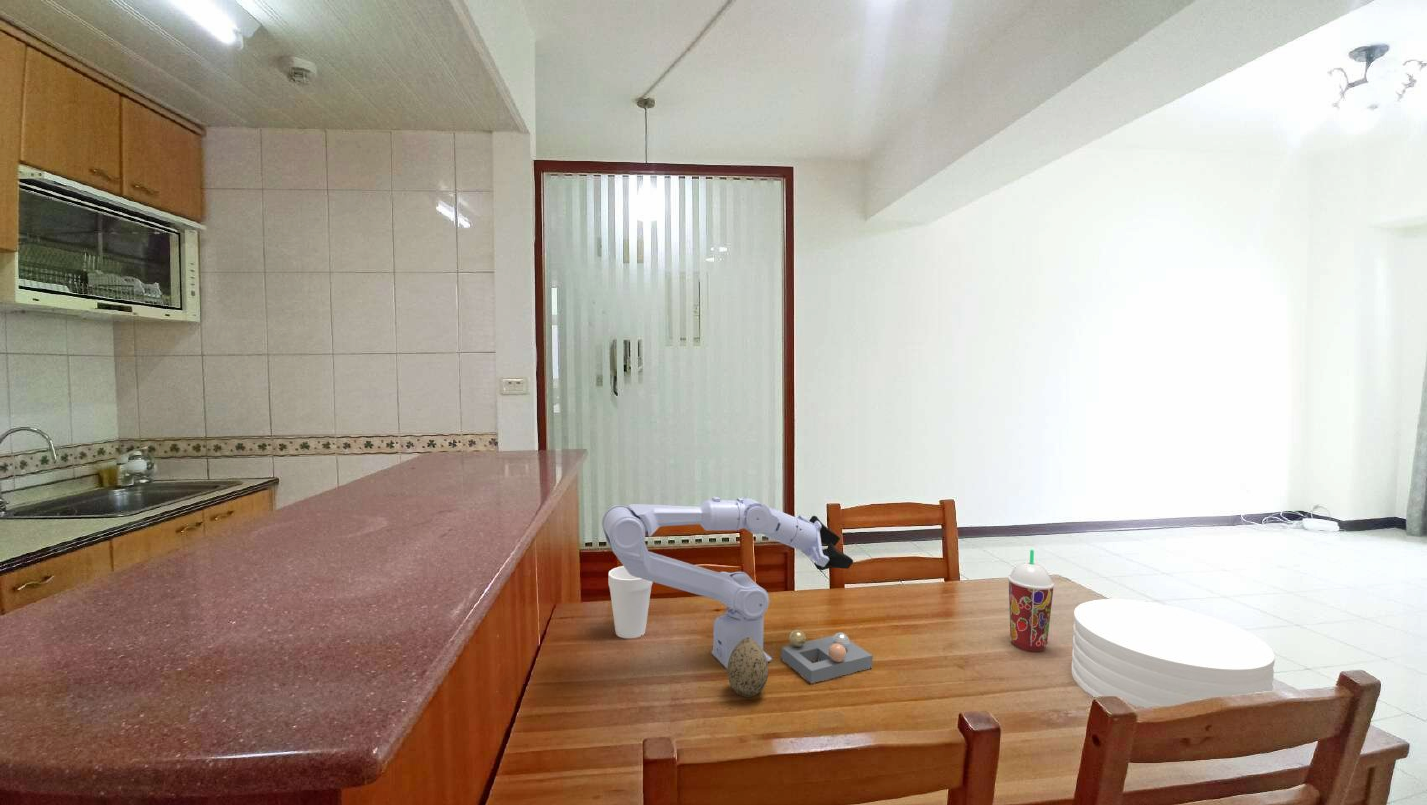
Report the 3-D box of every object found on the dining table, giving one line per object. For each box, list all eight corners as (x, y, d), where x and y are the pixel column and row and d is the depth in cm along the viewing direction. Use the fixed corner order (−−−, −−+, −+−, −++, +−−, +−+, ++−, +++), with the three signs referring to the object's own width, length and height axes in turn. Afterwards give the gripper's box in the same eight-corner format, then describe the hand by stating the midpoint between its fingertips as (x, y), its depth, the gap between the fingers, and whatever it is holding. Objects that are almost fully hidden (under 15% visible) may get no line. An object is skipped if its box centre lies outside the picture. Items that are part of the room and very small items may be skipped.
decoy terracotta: (835, 666, 108) (835, 649, 108) (825, 659, 111) (825, 642, 111) (849, 663, 110) (850, 646, 110) (838, 655, 113) (839, 639, 113)
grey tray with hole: (811, 684, 107) (811, 670, 107) (781, 659, 116) (781, 647, 116) (872, 668, 113) (872, 655, 113) (839, 645, 122) (839, 634, 122)
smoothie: (1057, 657, 118) (1061, 558, 117) (1012, 652, 120) (1016, 555, 119) (1043, 638, 126) (1047, 545, 125) (1001, 634, 128) (1004, 543, 127)
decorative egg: (718, 695, 103) (719, 638, 103) (743, 679, 109) (744, 625, 108) (751, 710, 99) (752, 652, 98) (776, 693, 104) (777, 637, 103)
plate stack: (1175, 654, 120) (1178, 598, 120) (1321, 740, 93) (1326, 668, 92) (1040, 655, 120) (1042, 599, 119) (1146, 742, 92) (1149, 669, 91)
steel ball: (839, 654, 113) (839, 638, 113) (829, 647, 116) (829, 631, 116) (852, 651, 115) (853, 635, 114) (842, 644, 117) (842, 628, 117)
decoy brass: (795, 651, 114) (795, 635, 114) (786, 644, 117) (786, 628, 117) (808, 648, 116) (809, 632, 115) (799, 641, 118) (800, 625, 118)
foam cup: (656, 623, 132) (656, 566, 131) (647, 642, 123) (648, 581, 122) (614, 621, 133) (614, 564, 132) (602, 640, 124) (602, 579, 123)
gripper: (811, 536, 111) (867, 559, 115) (790, 495, 124) (841, 517, 129) (791, 565, 113) (848, 586, 117) (772, 521, 126) (824, 542, 130)
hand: (843, 552), depth 123 cm, fingers open, 7 cm apart
